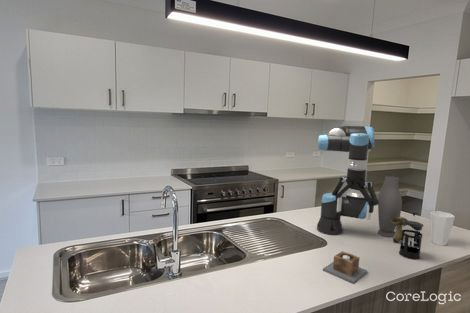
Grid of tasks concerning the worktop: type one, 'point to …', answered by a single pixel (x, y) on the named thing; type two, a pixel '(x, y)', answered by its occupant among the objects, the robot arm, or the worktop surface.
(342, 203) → the robot arm
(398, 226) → the mushroom
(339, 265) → the collar
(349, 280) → the grey plate with knob
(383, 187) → the vase
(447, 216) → the cup
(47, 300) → the worktop surface
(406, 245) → the french press
